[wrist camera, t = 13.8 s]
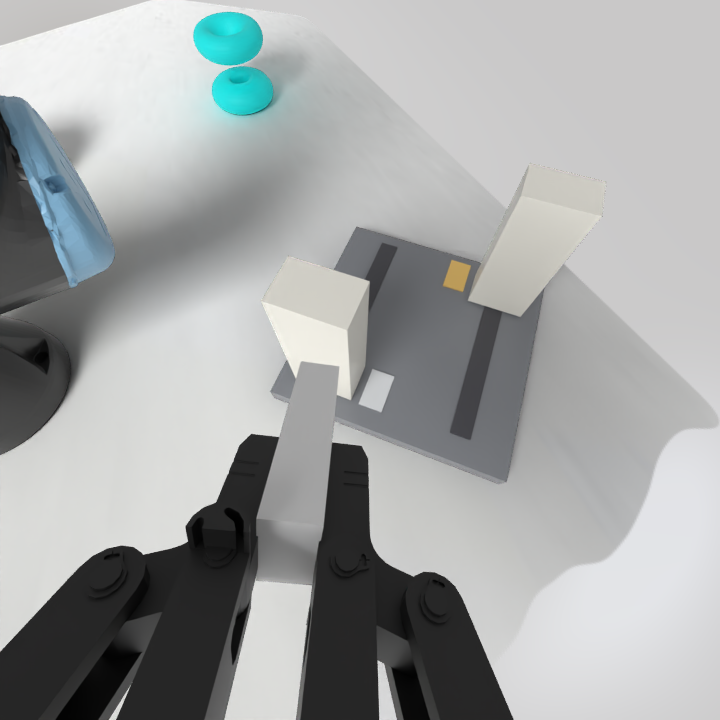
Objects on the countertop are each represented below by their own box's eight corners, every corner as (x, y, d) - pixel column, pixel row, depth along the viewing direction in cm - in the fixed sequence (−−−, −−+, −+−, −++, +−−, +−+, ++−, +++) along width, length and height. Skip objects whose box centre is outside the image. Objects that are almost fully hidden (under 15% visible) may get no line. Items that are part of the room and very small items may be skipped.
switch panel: (498, 483, 33) (507, 481, 31) (274, 397, 36) (269, 390, 34) (537, 292, 42) (546, 280, 40) (356, 238, 46) (356, 225, 44)
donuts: (239, 1, 52) (272, 28, 49) (256, 78, 62) (285, 104, 58) (178, 20, 50) (209, 49, 47) (205, 97, 59) (233, 126, 56)
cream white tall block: (520, 316, 38) (602, 216, 25) (467, 300, 39) (521, 195, 26) (526, 289, 40) (606, 181, 27) (475, 274, 40) (529, 163, 28)
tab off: (351, 400, 34) (347, 330, 21) (296, 379, 35) (260, 300, 22) (365, 365, 35) (369, 281, 23) (312, 347, 36) (288, 255, 24)
